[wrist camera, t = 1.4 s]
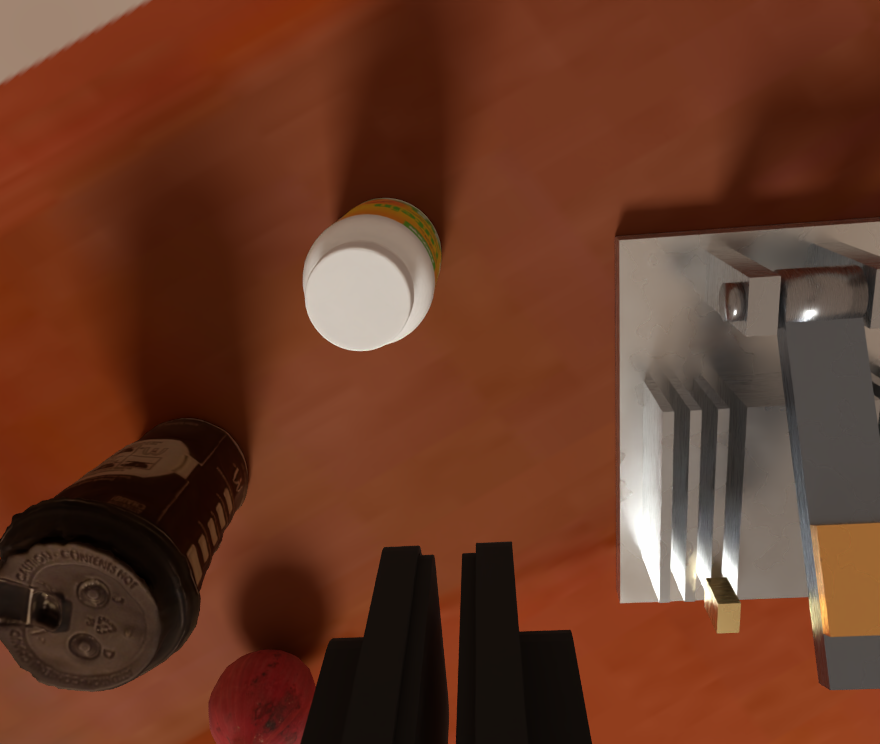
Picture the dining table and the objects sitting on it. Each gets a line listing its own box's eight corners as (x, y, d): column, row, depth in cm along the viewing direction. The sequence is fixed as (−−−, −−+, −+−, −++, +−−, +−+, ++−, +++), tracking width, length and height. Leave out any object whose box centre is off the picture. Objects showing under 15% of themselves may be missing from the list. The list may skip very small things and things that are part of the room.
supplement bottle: (464, 238, 36) (459, 282, 27) (403, 326, 38) (380, 395, 29) (370, 173, 36) (333, 196, 26) (312, 266, 37) (258, 318, 28)
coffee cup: (82, 445, 41) (-85, 589, 29) (196, 365, 39) (68, 481, 27) (187, 560, 43) (72, 739, 31) (299, 489, 41) (224, 649, 29)
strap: (763, 278, 32) (784, 262, 30) (836, 273, 32) (863, 256, 29) (811, 678, 29) (838, 695, 27) (890, 676, 29) (925, 692, 27)
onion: (282, 602, 44) (242, 705, 36) (348, 666, 45) (322, 778, 38) (213, 652, 45) (160, 760, 38) (278, 712, 47) (240, 829, 39)
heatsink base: (614, 236, 36) (647, 266, 29) (919, 214, 35) (1027, 239, 28) (616, 589, 43) (643, 683, 36) (872, 579, 42) (951, 673, 35)
